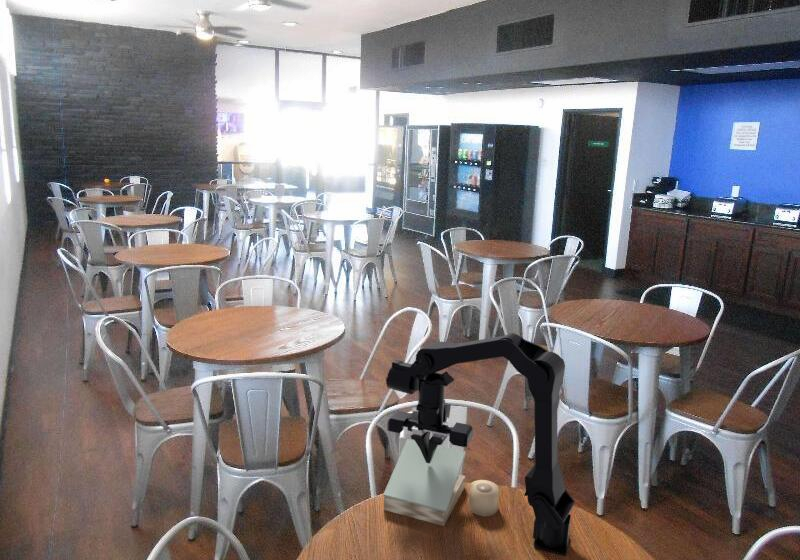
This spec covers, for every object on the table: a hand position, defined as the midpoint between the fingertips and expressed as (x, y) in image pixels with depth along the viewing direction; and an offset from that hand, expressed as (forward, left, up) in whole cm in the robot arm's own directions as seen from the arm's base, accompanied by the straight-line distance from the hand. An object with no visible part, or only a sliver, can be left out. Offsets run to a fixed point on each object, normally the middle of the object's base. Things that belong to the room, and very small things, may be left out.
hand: (428, 462), depth 135 cm
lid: (0, +2, -2) cm, 3 cm away
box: (0, +1, -9) cm, 9 cm away
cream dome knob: (-13, -1, -9) cm, 16 cm away
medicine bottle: (+9, -15, -9) cm, 20 cm away
